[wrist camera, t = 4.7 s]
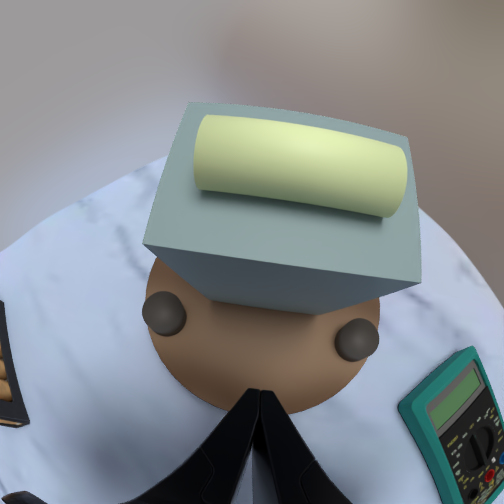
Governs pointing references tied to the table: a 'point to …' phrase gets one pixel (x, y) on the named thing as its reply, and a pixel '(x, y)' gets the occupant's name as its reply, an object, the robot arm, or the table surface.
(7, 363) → the ammunition clip
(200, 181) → the post
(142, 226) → the table surface
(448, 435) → the digital multimeter
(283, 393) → the levelling base
